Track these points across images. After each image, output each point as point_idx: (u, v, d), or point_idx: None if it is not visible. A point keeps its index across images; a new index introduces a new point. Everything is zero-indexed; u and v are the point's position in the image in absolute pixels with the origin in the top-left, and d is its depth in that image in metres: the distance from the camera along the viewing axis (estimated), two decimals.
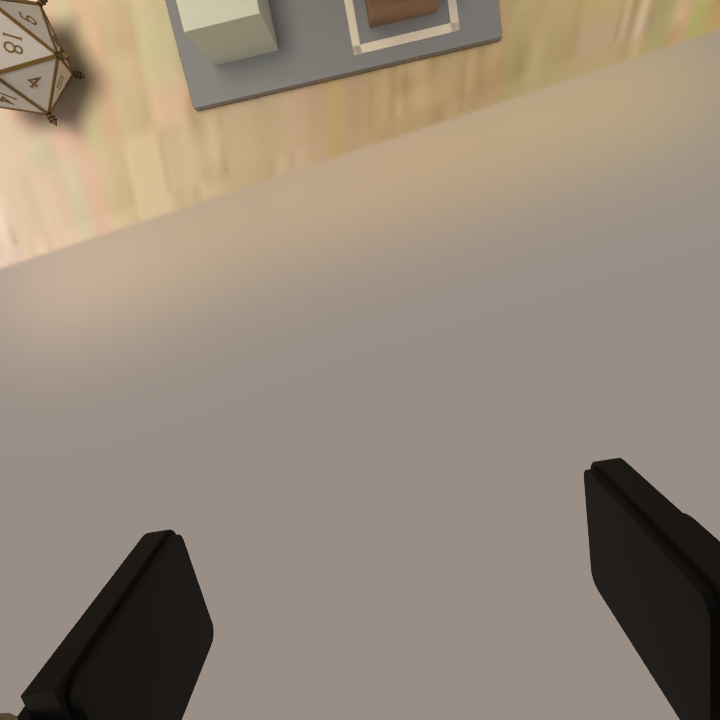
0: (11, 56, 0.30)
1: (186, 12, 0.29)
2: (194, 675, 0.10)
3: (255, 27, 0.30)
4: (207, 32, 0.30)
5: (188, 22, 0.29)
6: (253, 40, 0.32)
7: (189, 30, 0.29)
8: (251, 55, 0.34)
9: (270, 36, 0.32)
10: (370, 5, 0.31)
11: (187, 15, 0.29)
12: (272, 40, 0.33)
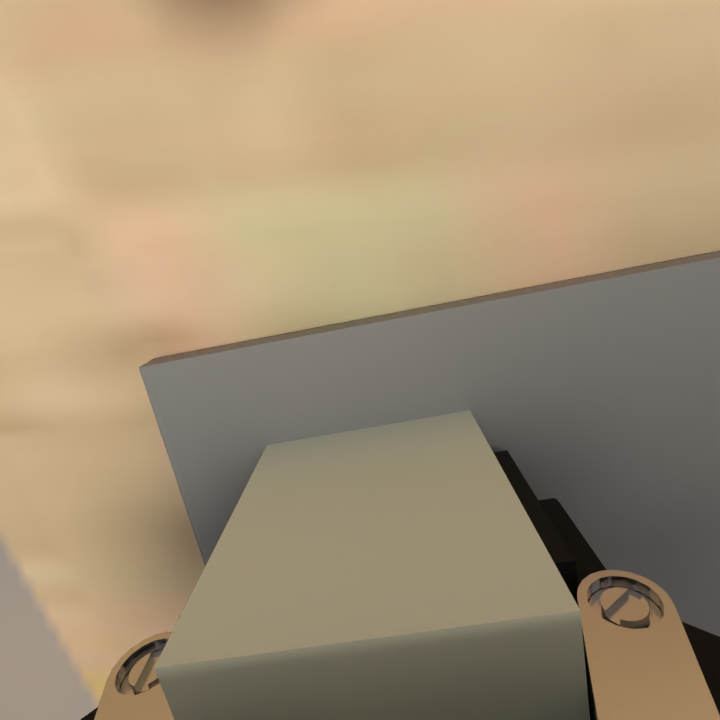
0: None
1: (243, 686, 0.06)
2: None
3: None
4: None
5: (199, 689, 0.06)
6: None
7: (165, 687, 0.06)
8: None
9: None
10: None
11: (230, 689, 0.06)
12: None
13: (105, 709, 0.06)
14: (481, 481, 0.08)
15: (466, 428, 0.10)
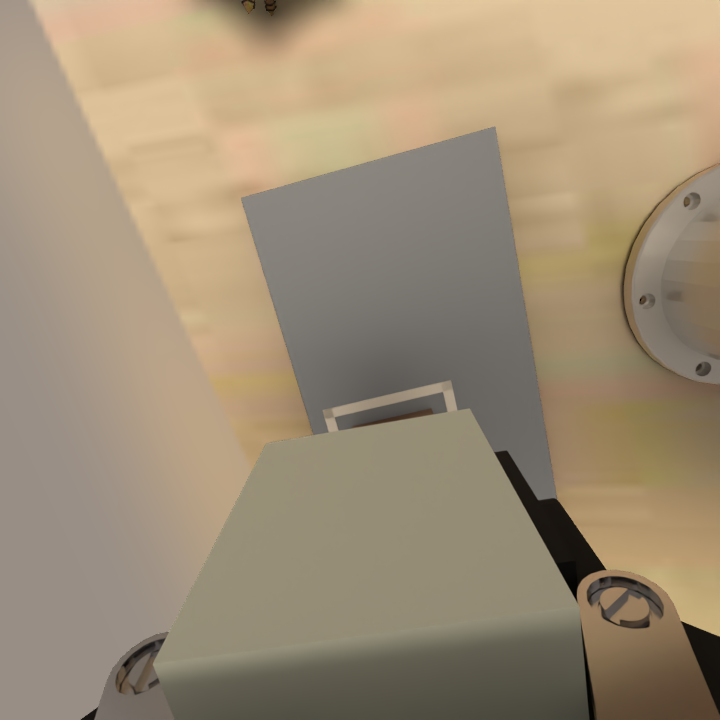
0: None
1: (242, 682, 0.06)
2: None
3: None
4: None
5: (198, 685, 0.06)
6: None
7: (163, 684, 0.06)
8: None
9: None
10: None
11: (229, 685, 0.06)
12: None
13: (105, 709, 0.06)
14: (480, 478, 0.08)
15: (466, 426, 0.10)
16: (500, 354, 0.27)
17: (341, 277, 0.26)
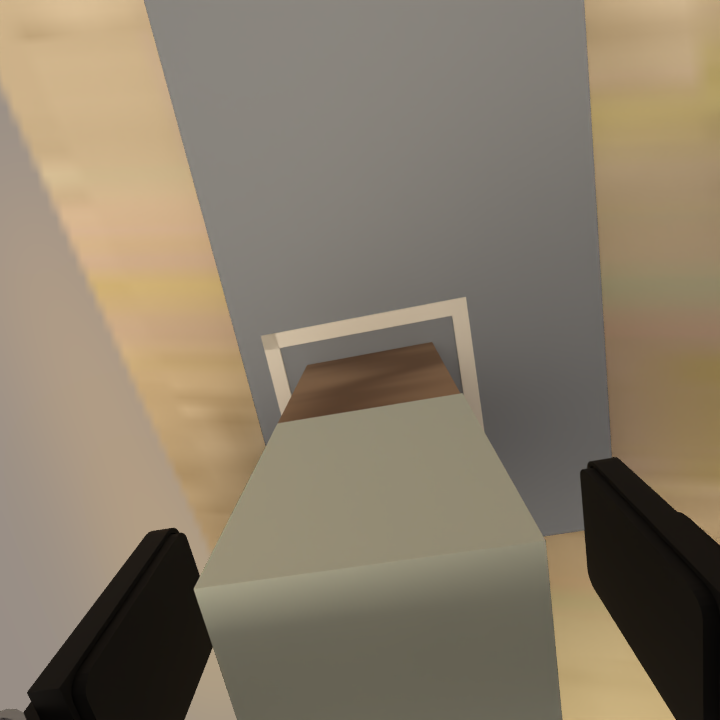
0: None
1: (267, 605, 0.07)
2: (198, 673, 0.10)
3: None
4: None
5: (230, 608, 0.07)
6: None
7: (202, 607, 0.07)
8: None
9: None
10: None
11: (256, 608, 0.07)
12: None
13: None
14: (469, 449, 0.09)
15: (458, 407, 0.11)
16: (547, 258, 0.17)
17: (297, 109, 0.16)
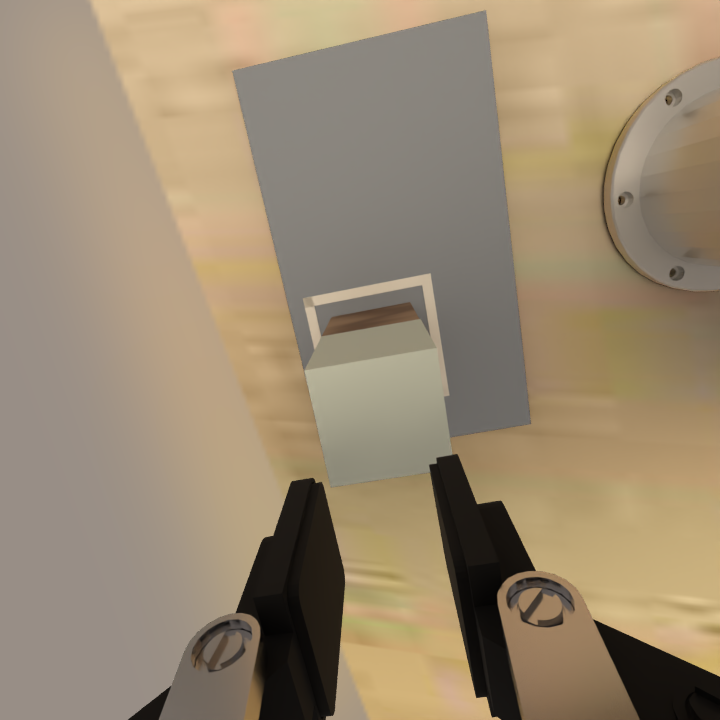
0: None
1: (332, 377, 0.17)
2: (341, 608, 0.11)
3: None
4: None
5: (318, 379, 0.17)
6: None
7: (306, 379, 0.17)
8: None
9: None
10: (326, 329, 0.25)
11: (328, 378, 0.17)
12: None
13: (180, 681, 0.07)
14: (417, 333, 0.20)
15: (417, 323, 0.22)
16: (480, 249, 0.27)
17: (327, 159, 0.26)
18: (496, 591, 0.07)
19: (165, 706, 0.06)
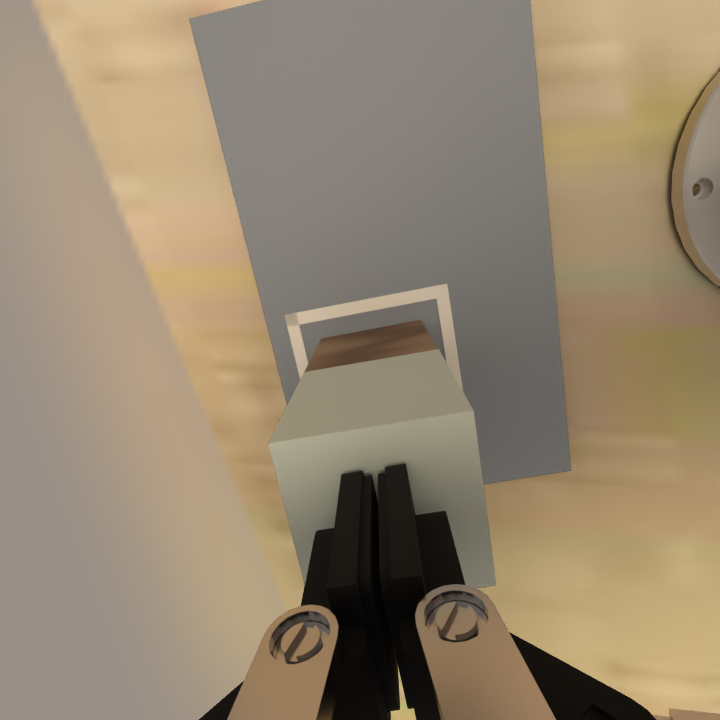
0: None
1: (311, 453, 0.11)
2: None
3: None
4: None
5: (289, 455, 0.11)
6: None
7: (272, 455, 0.11)
8: None
9: None
10: (312, 358, 0.19)
11: (305, 455, 0.11)
12: None
13: (257, 667, 0.07)
14: (438, 376, 0.14)
15: (435, 357, 0.16)
16: (511, 252, 0.21)
17: (315, 137, 0.20)
18: None
19: (241, 690, 0.06)
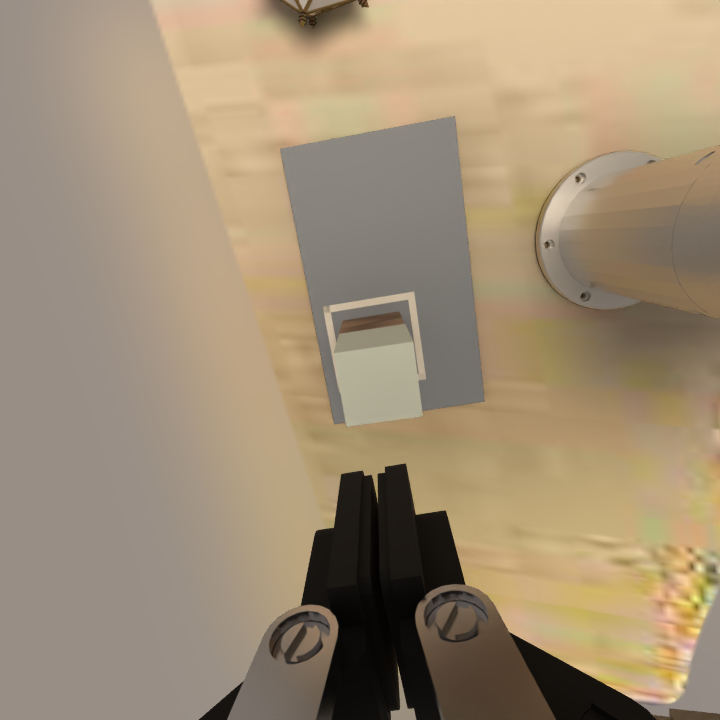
0: None
1: (350, 358, 0.29)
2: None
3: None
4: None
5: (341, 358, 0.29)
6: None
7: (334, 358, 0.29)
8: None
9: None
10: (340, 329, 0.37)
11: (347, 358, 0.29)
12: None
13: (257, 667, 0.07)
14: (402, 333, 0.31)
15: (402, 326, 0.33)
16: (449, 275, 0.39)
17: (344, 210, 0.38)
18: None
19: (241, 690, 0.06)
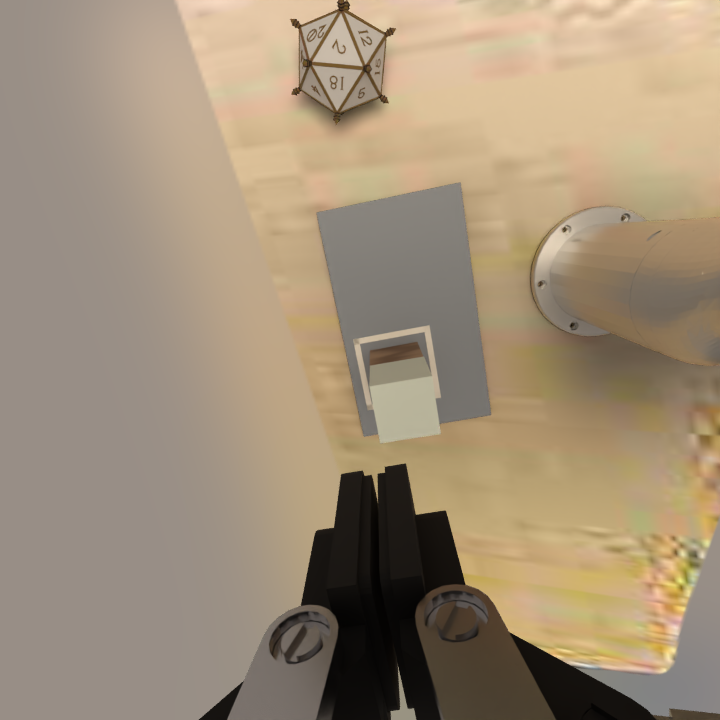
0: (327, 79, 0.36)
1: (382, 389, 0.36)
2: None
3: None
4: None
5: (375, 390, 0.36)
6: None
7: (370, 390, 0.36)
8: None
9: None
10: None
11: (380, 390, 0.36)
12: None
13: (257, 666, 0.07)
14: (422, 366, 0.39)
15: (422, 359, 0.41)
16: (458, 311, 0.46)
17: (369, 261, 0.45)
18: None
19: (241, 690, 0.06)
